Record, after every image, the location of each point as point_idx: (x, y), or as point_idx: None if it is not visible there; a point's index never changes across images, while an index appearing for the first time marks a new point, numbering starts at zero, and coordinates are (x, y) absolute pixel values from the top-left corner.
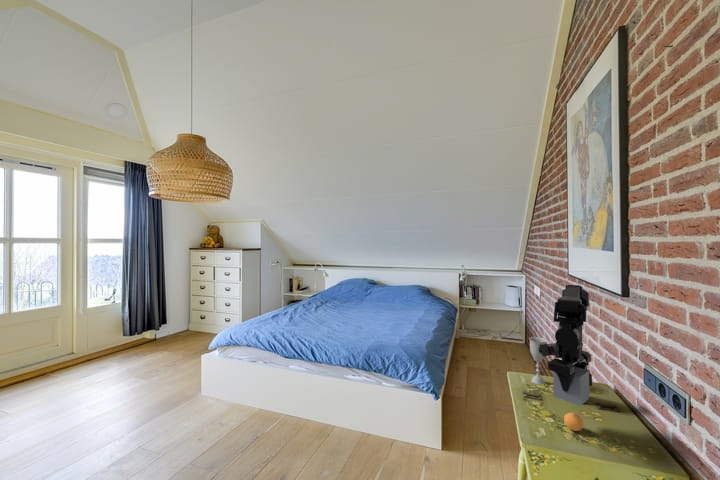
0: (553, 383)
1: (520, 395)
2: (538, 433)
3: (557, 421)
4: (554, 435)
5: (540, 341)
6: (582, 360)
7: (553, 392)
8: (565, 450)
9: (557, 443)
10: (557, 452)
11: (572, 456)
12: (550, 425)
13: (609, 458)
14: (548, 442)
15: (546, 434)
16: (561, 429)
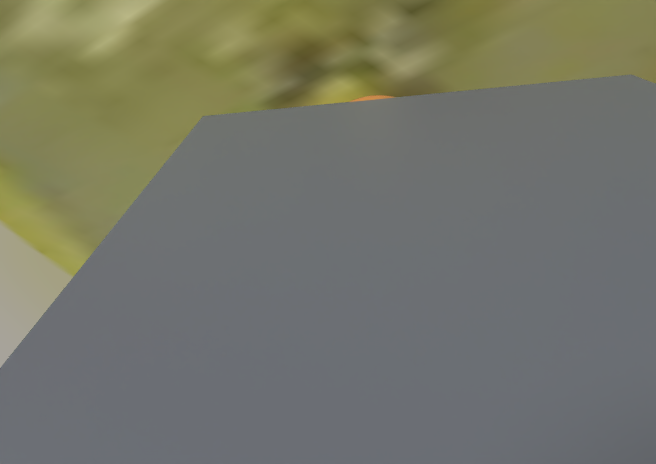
0: (117, 226)
1: None
2: (56, 13)
3: (391, 6)
4: (161, 103)
5: None
6: None
7: (187, 137)
8: (78, 224)
9: (93, 164)
10: (8, 209)
11: (68, 268)
12: (269, 5)
13: None
14: (37, 124)
15: (111, 60)
16: (292, 92)
